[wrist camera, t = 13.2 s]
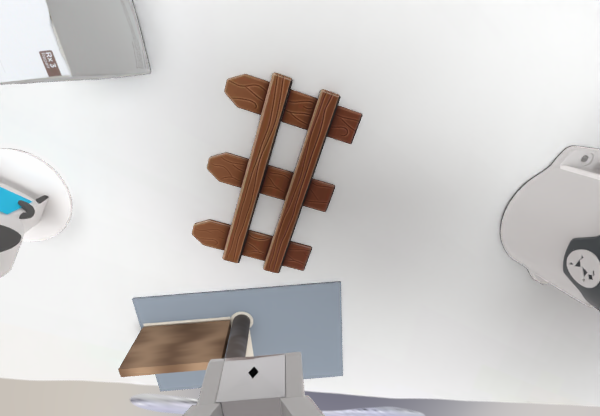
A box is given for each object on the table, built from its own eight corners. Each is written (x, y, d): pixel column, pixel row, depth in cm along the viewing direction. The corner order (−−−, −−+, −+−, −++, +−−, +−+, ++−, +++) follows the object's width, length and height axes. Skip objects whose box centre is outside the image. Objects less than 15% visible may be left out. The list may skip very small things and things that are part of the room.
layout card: (340, 281, 44) (340, 283, 44) (342, 374, 50) (342, 376, 50) (133, 298, 44) (131, 299, 43) (161, 389, 50) (160, 391, 50)
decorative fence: (364, 103, 37) (233, 58, 34) (367, 104, 35) (231, 57, 33) (300, 272, 44) (190, 244, 42) (301, 280, 43) (186, 251, 40)
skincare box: (70, -10, 31) (-104, -83, 17) (133, -17, 31) (11, -95, 17) (99, 84, 34) (-29, 86, 20) (156, 78, 34) (68, 76, 20)
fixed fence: (249, 313, 45) (242, 359, 38) (251, 327, 46) (244, 374, 38) (142, 321, 45) (114, 369, 37) (146, 335, 46) (120, 385, 38)
